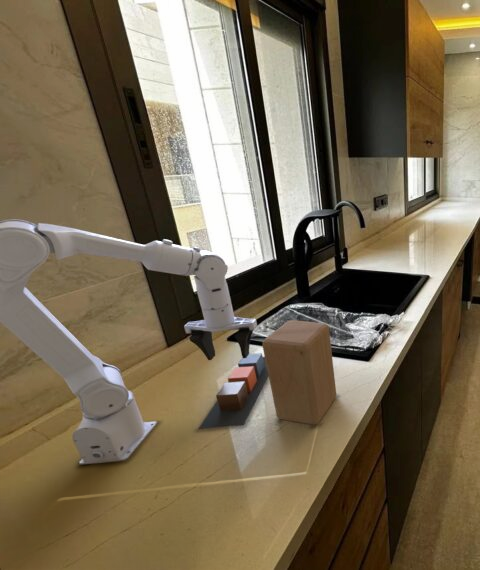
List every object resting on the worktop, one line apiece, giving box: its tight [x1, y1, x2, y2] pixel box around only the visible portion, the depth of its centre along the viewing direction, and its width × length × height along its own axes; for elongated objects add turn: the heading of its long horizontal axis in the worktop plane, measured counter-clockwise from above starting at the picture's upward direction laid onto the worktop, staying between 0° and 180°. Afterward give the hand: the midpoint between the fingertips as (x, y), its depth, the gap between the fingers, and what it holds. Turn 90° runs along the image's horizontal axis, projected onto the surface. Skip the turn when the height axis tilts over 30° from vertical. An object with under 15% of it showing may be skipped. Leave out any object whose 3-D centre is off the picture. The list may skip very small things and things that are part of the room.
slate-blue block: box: [237, 352, 265, 377], centre depth 85 cm, size 4×4×4 cm
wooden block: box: [262, 319, 337, 426], centre depth 71 cm, size 10×10×20 cm
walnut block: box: [215, 381, 248, 411], centre depth 74 cm, size 4×4×4 cm
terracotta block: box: [227, 366, 257, 392], centre depth 80 cm, size 4×4×4 cm
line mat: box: [198, 356, 269, 430], centre depth 81 cm, size 26×9×1 cm, turn 7°
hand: (229, 356), depth 77 cm, fingers open, 7 cm apart
